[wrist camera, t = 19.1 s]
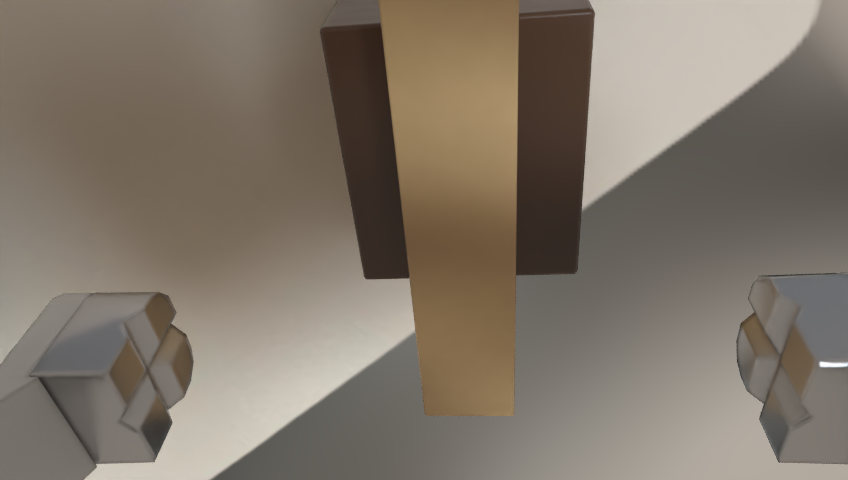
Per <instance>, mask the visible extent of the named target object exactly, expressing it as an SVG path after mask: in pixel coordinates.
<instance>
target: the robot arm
mask: <svg viewBox="0 0 848 480" xmlns="http://www.w3.org/2000/svg"><path fill="white" fill-rule="evenodd" d="M748 300H749V302H750V304H751V306H752V308H753V310H754V313H753V314H752V315H750V316H749V317H748V318H747V319H745V320H744V321H743V322H742V323H741V325H740V329H739V333H738V337H737V363H738V367H739V371H740V375H741V378H742V380H743V383H744V385H745V388H746V390H747V391H748V392H749V393H750V394H751V395H753V396H754V397H756V398H757V399H758V400H759V401H761V402H762V403H764V406H763V409H762V412H761V415H760V418H759V420H760V422H761V424H762V426H763V429H764V431H765V433H766V435H767V438H768V440H769V442H770V444H771V447H772V449H773V451H774V453H775V455H776V458H777V460H778V462H782V463H783V462H784V463H822V464H848V272H841V273H839V274H837V273H826V274H796V275H768V276H758V277H757V279H756V280H755V281H754V282H753V284H752V286H751V290H750V293H749V296H748ZM176 313H177V312H176V310H175V308H174V306H173V304H172V302H171V300H170V298H169V296H168V295H165V294H162V293H159V292H128V293H94V294H93V293H64V294H62V295H59V296H57V297H55V298H53V299H52V300H51V301H50V303H49V304H48V305H47V306H46V308H45V309H44V310H43V311H42V313H41V314H40V315H39V316H38V318H37V319H36V320H35V321H34V323H33V324H32V325H31V326H30V328H29V329H28V330H27V332H26V333H25V334H24V335H23V337H22V338H21V339H20V340H19V342H18V343H17V344H16V345H15V347H14V348H13V349H12V350H11V352H10V353H9V354H8V355H7V357H6V358H5V359H4V361H3V362H2V363H1V364H0V480H84V479H85V478H86V477H87V476H88V475H89V474H90V473H91V472H92V471H93V470H94V469H95V468H96V467H97V466H96V464H106V463H141V462H155V460H156V457H157V455H158V453H159V451H160V449H161V446H162V444H163V442H164V440H165V438H166V436H167V433H168V431H169V429H170V427H171V425H172V423H173V422H172V419H171V417H170V414H169V411H168V410H169V409H170V408H171V407H172V406H174V405H175V404H176V403H177V402H179V401H180V400H181V399H182V398H184V396H185V394H186V391H187V389H188V387H189V384H190V382H191V377H192V369H193V355H192V349H191V345H190V343H189V340H188V338H187V335H186V334H185V333H183V332H182V331H180V330H179V329H178V328H176V327H175V326H174V325H172V324H171V323H172V321H173V319H174V317H175V315H176Z"/></svg>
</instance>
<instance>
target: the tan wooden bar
mask: <svg viewBox="0 0 848 480" xmlns="http://www.w3.org/2000/svg"><path fill="white" fill-rule="evenodd" d="M378 3H379V11H380V20H381V29H382V38H383V47H384V56H385V65H386V74H387V83H388V91H389V100H390V109H391V118H392V127H393V136H394V145H395V154H396V163H397V171H398V180H399V189H400V198H401V207H402V216H403V225H404V234H405V242H406V251H407V260H408V269H409V278H410V287H411V296H412V305H413V314H414V322H415V331H416V339H417V349H418V358H419V366H420V376H421V384H422V393H423V402H424V411H425V415H427V416H513V415H514V396H515V309H516V305H515V304H516V224H517V138H518V52H519V0H378Z"/></svg>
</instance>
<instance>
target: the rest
mask: <svg viewBox="0 0 848 480" xmlns="http://www.w3.org/2000/svg"><path fill="white" fill-rule="evenodd" d="M594 17H595V12H594V10H593V8H592V6H591V4H590V2H589V0H519V52H518V138H517V224H516V275H548V274H575V273H576V272H577V270H578V255H579V240H580V224H581V210H582V195H583V180H584V165H585V151H586V136H587V121H588V106H589V91H590V76H591V61H592V47H593V32H594ZM320 35H321V41H322V46H323V52H324V57H325V63H326V68H327V74H328V79H329V85H330V91H331V96H332V102H333V107H334V113H335V118H336V124H337V129H338V135H339V140H340V146H341V152H342V157H343V163H344V168H345V174H346V179H347V185H348V190H349V196H350V201H351V207H352V212H353V218H354V224H355V229H356V235H357V240H358V246H359V251H360V257H361V262H362V268H363V273H364V277H365V279H399V278H409V269H408V260H407V251H406V242H405V234H404V225H403V216H402V207H401V198H400V189H399V180H398V171H397V163H396V154H395V145H394V136H393V127H392V118H391V109H390V100H389V91H388V83H387V74H386V65H385V56H384V47H383V38H382V29H381V20H380V11H379V3H378V0H338V1H337V3H336V4H335V6H334V7H333V9H332V11H331V12H330V14H329V16H328V17H327V19H326V20H325V22H324V24H323V25H322V27H321V29H320Z"/></svg>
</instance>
